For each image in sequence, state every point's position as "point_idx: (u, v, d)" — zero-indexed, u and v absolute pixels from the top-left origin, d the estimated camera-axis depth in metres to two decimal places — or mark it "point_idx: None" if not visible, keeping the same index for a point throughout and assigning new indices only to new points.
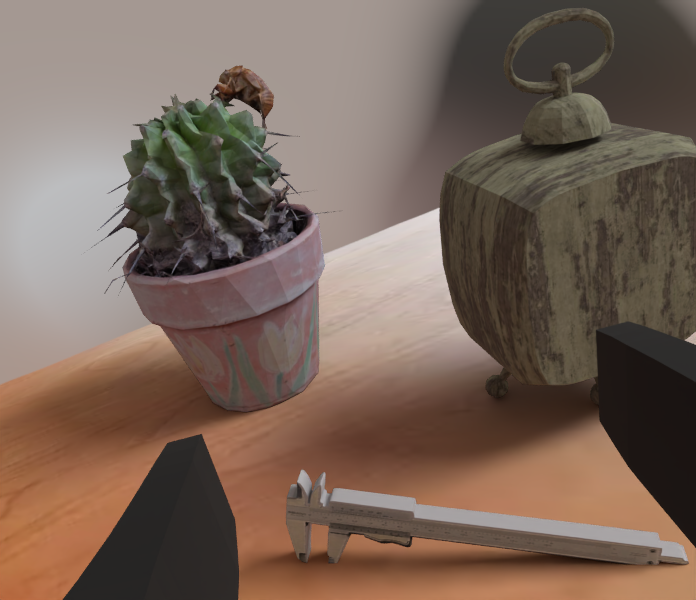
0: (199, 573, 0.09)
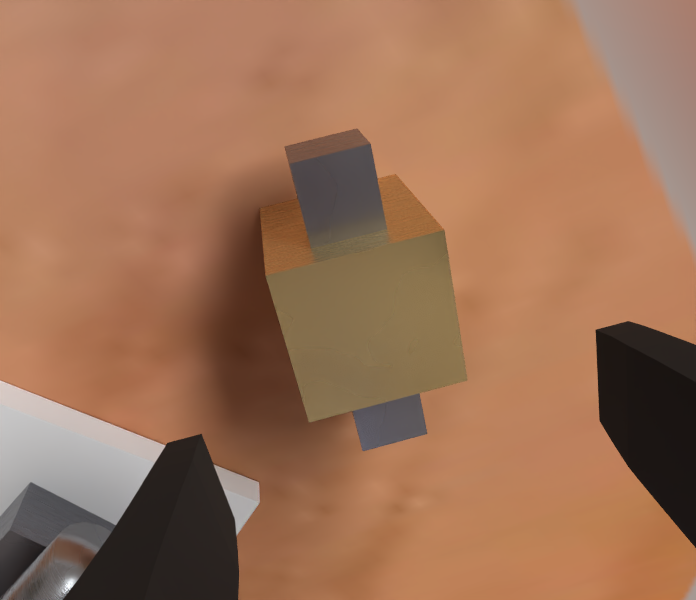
0: (198, 574, 0.09)
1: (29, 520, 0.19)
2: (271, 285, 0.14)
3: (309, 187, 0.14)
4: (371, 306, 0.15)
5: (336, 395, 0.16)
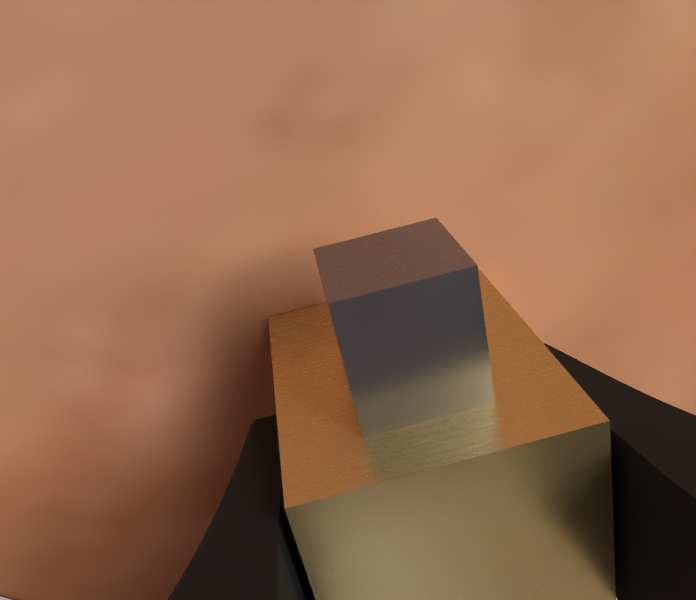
0: None
1: None
2: (295, 523, 0.08)
3: (363, 341, 0.08)
4: (468, 542, 0.08)
5: None
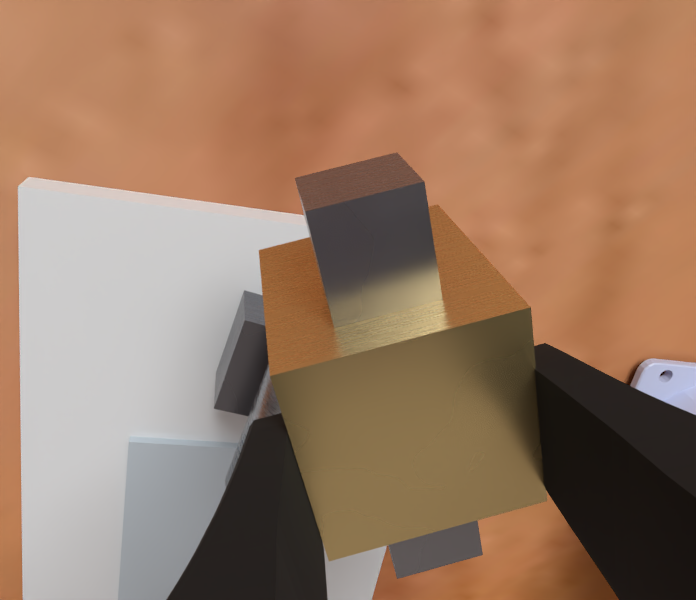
0: (301, 545, 0.09)
1: (257, 313, 0.18)
2: (278, 389, 0.10)
3: (333, 244, 0.10)
4: (420, 411, 0.10)
5: (367, 527, 0.11)
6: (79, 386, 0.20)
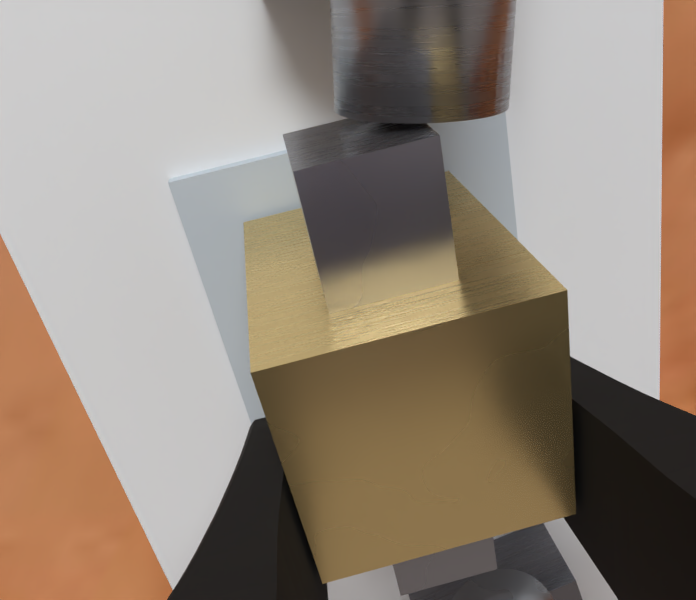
0: (302, 545, 0.09)
1: None
2: (261, 388, 0.08)
3: (328, 212, 0.08)
4: (431, 414, 0.09)
5: (367, 545, 0.10)
6: (47, 104, 0.11)
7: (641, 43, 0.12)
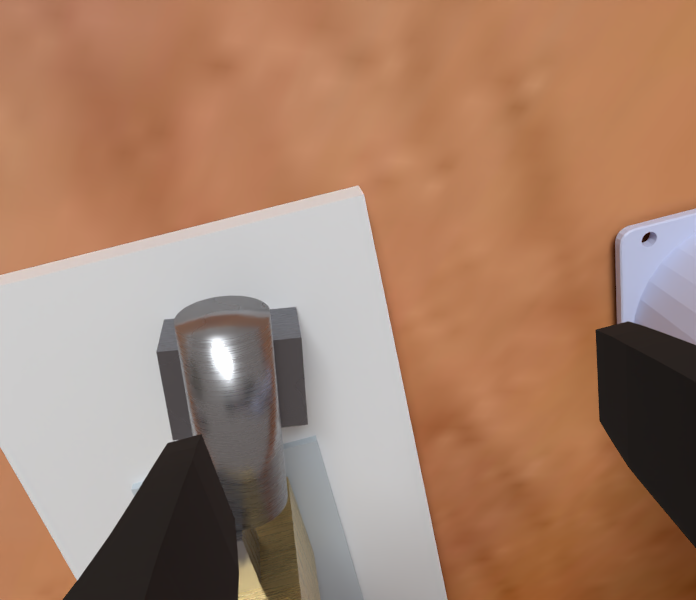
0: (199, 574, 0.09)
1: (173, 339, 0.18)
2: None
3: None
4: None
5: None
6: (65, 456, 0.21)
7: (394, 405, 0.22)
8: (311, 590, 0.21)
